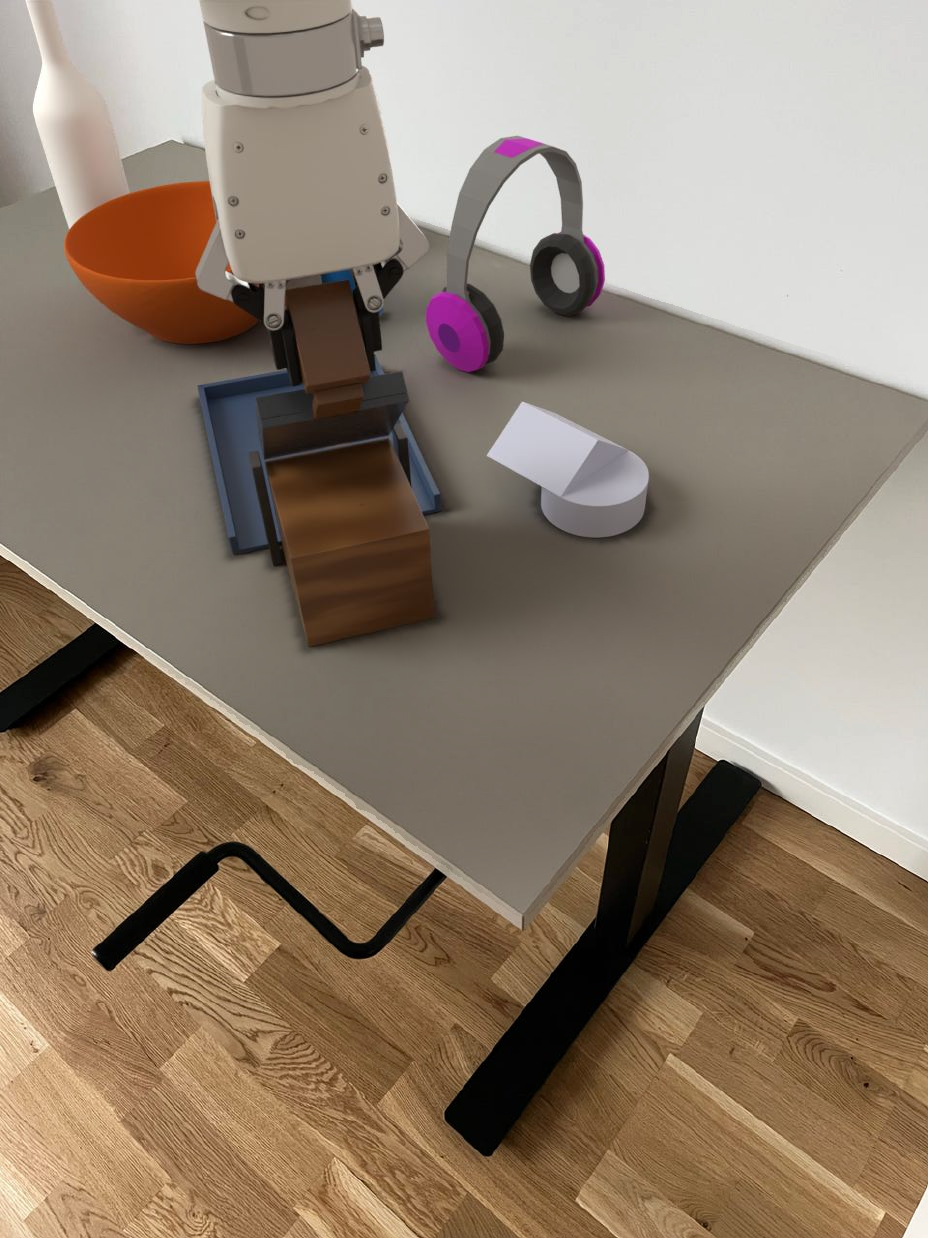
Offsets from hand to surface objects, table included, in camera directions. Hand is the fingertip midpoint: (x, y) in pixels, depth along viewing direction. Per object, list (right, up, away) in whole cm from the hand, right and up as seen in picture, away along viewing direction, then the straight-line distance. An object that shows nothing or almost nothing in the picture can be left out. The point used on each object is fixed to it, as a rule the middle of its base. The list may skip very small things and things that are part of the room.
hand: (329, 365), depth 64 cm
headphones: (+14, +14, +43) cm, 48 cm away
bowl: (-21, +18, +49) cm, 56 cm away
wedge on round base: (+19, -6, +24) cm, 31 cm away
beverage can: (-3, +18, +47) cm, 51 cm away
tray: (-5, -1, +29) cm, 29 cm away
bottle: (-35, +29, +60) cm, 75 cm away
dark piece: (0, -3, +5) cm, 6 cm away
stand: (0, -13, +16) cm, 21 cm away
